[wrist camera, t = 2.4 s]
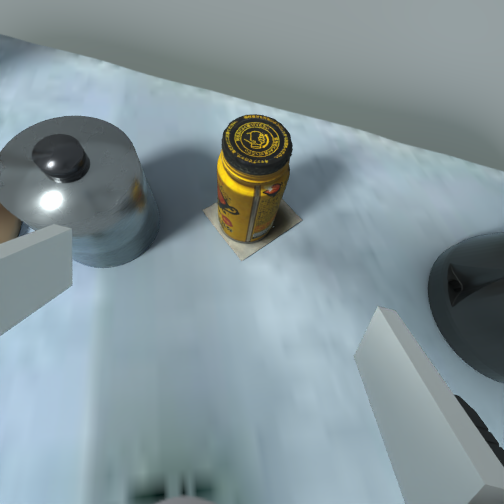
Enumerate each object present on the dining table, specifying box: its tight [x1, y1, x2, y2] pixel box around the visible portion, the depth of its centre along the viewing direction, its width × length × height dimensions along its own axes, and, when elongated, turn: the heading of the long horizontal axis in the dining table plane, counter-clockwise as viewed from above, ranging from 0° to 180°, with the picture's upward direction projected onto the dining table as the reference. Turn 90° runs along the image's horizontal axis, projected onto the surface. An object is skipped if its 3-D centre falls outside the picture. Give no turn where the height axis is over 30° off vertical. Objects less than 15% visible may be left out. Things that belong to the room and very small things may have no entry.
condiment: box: [202, 114, 302, 261], centre depth 26 cm, size 7×8×12 cm
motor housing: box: [0, 116, 160, 268], centre depth 25 cm, size 10×10×10 cm
